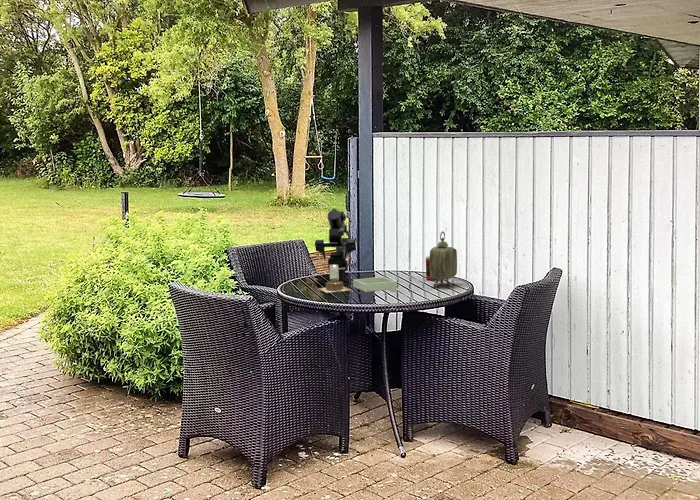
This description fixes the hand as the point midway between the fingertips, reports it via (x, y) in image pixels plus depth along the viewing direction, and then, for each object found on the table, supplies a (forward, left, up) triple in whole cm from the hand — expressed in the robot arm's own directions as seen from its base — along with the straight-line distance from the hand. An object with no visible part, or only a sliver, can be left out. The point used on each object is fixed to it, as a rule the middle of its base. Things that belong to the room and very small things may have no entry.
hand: (334, 259), depth 356 cm
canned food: (-50, +1, -14) cm, 52 cm away
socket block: (+3, +7, -14) cm, 16 cm away
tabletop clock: (-46, +19, -14) cm, 52 cm away
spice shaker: (+3, +7, -12) cm, 15 cm away
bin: (-14, +13, -14) cm, 23 cm away
